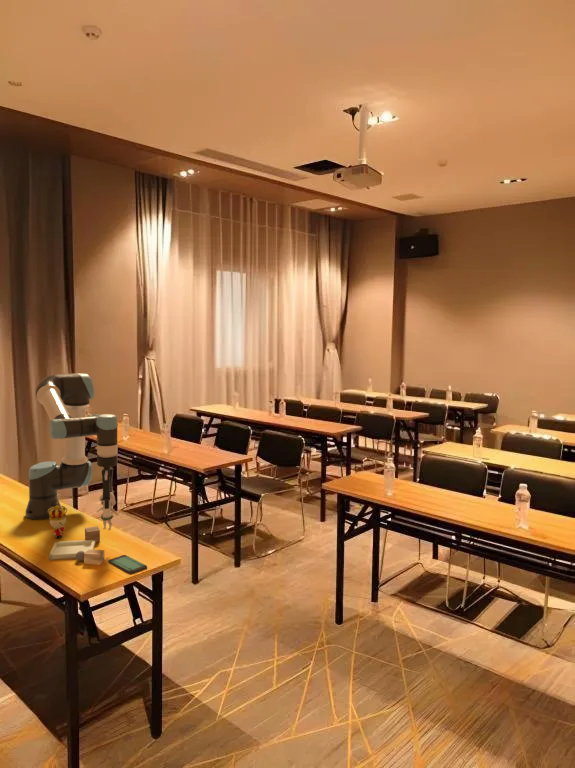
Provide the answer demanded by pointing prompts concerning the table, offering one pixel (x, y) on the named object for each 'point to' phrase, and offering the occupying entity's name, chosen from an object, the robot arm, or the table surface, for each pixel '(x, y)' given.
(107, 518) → the figurine
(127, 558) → the smartphone
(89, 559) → the maple block
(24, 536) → the table surface
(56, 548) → the tray
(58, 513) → the toy
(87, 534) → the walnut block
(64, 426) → the robot arm
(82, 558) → the grey ball
